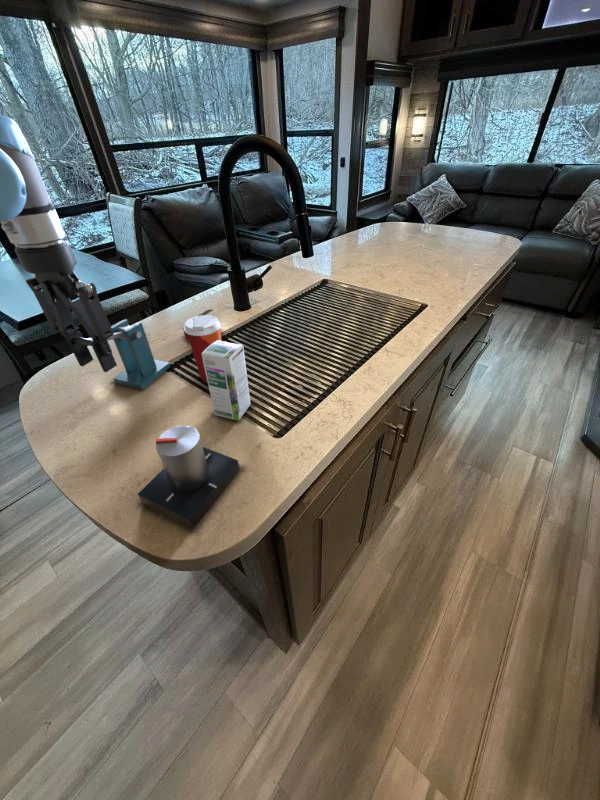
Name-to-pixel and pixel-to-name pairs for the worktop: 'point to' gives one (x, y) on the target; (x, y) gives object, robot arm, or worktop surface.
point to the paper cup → (202, 337)
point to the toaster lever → (115, 336)
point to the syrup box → (227, 379)
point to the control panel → (192, 503)
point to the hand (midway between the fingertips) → (98, 365)
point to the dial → (183, 458)
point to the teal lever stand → (136, 357)
